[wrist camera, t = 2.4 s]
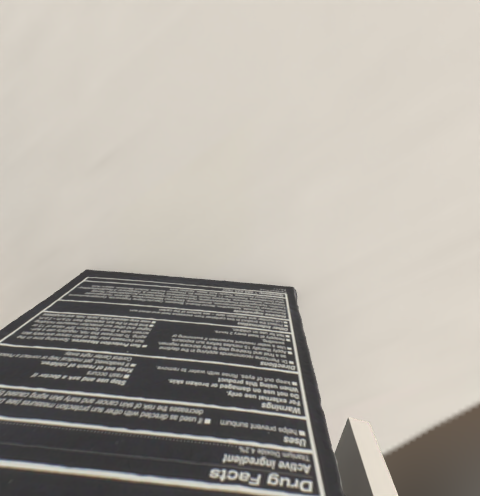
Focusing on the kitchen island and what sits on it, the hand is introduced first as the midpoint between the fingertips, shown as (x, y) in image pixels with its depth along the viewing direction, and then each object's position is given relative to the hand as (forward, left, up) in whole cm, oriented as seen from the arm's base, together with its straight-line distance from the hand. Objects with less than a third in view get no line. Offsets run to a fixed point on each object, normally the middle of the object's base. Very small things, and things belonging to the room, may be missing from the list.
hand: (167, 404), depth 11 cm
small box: (0, 0, -5) cm, 5 cm away
